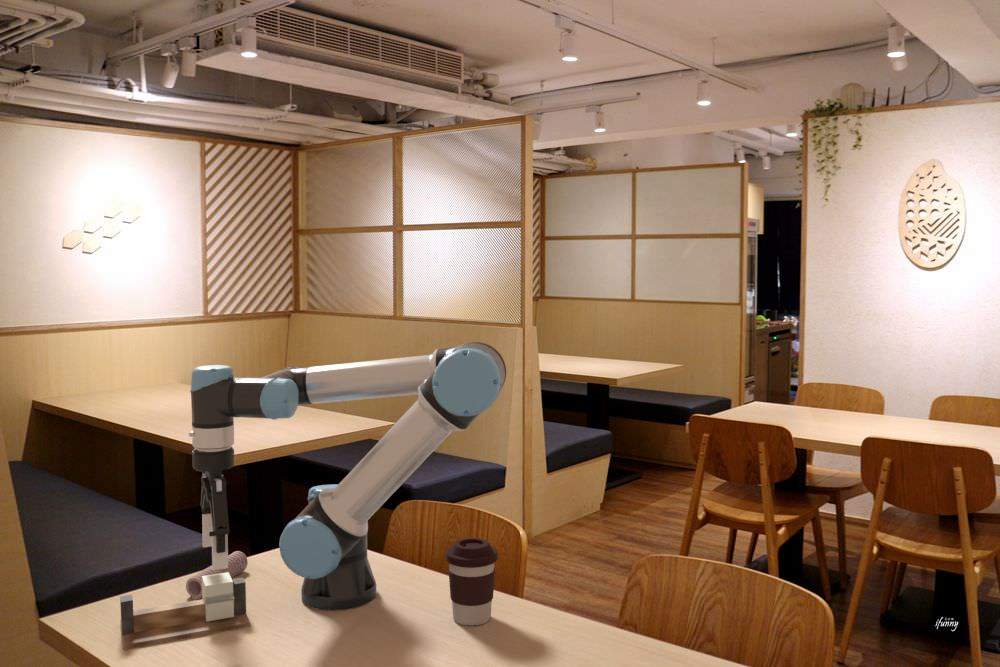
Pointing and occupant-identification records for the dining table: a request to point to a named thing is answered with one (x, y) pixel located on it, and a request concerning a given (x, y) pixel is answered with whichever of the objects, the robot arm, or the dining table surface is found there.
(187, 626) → the track
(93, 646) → the dining table surface
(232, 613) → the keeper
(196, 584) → the coil
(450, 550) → the coffee cup
